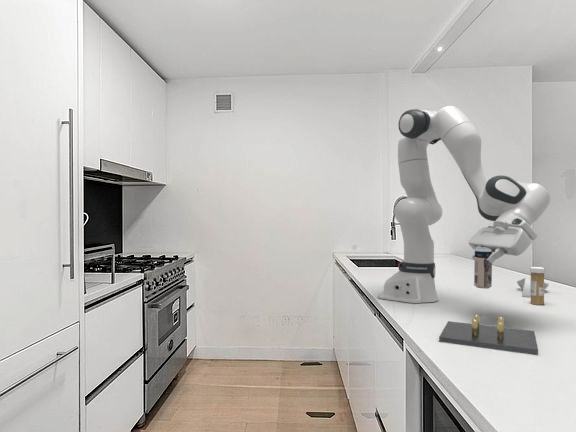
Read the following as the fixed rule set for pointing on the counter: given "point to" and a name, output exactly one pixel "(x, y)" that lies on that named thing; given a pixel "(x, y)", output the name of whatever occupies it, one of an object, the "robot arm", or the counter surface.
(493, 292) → the counter surface
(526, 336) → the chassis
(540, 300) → the sprinkles bottle
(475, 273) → the beer can
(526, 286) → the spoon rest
